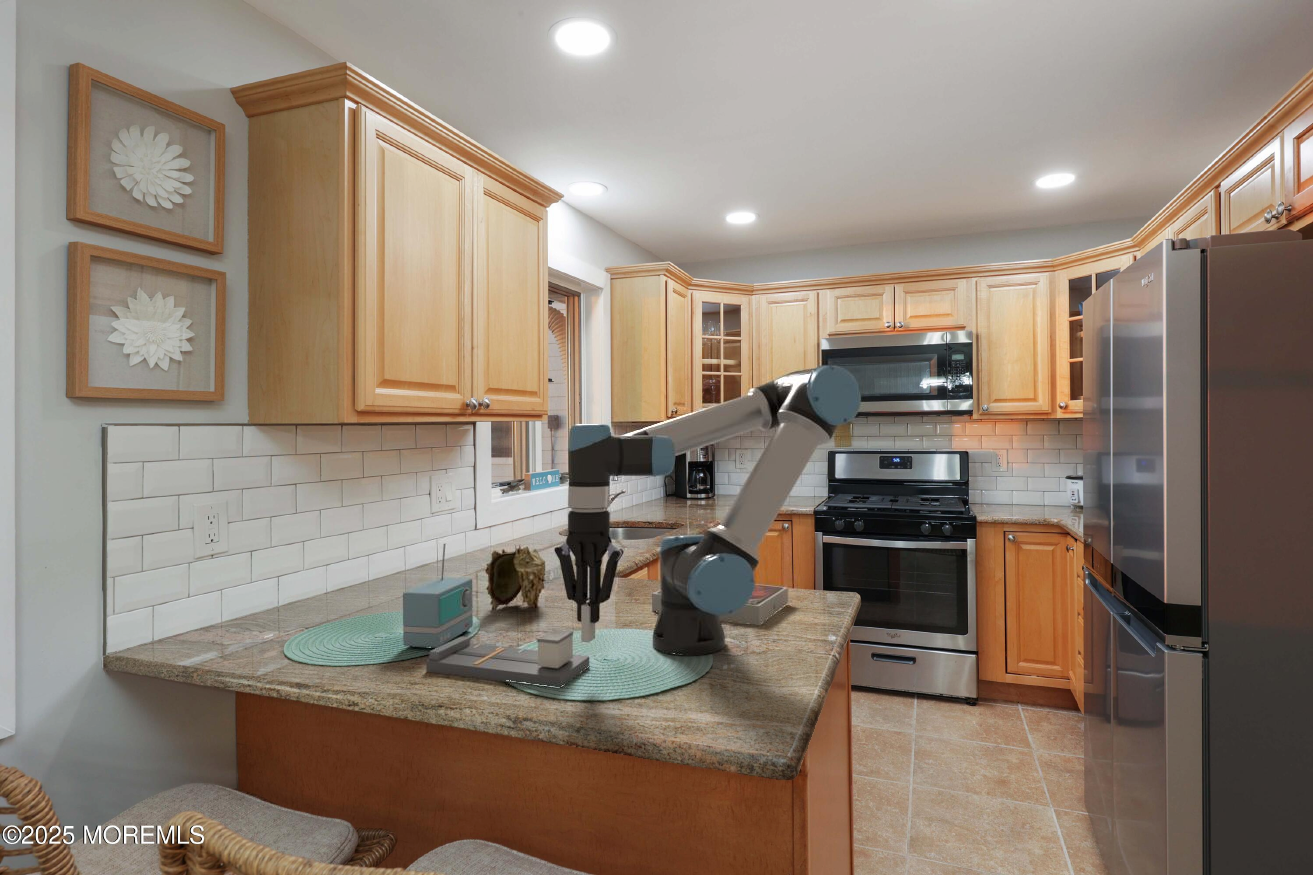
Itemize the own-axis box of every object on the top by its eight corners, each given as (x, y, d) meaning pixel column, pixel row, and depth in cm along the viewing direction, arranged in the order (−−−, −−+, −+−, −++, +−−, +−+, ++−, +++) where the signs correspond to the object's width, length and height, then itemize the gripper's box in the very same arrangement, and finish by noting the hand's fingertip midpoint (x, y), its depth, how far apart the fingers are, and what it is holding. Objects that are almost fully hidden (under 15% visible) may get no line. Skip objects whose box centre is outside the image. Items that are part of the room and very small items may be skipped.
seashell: (477, 540, 169) (530, 553, 164) (516, 534, 186) (565, 545, 180) (466, 612, 169) (519, 627, 164) (506, 599, 186) (554, 612, 181)
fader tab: (573, 657, 129) (573, 631, 129) (558, 668, 123) (557, 640, 123) (553, 655, 130) (553, 629, 130) (537, 665, 124) (537, 638, 124)
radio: (442, 652, 141) (441, 554, 141) (402, 650, 142) (401, 553, 142) (477, 630, 156) (476, 542, 156) (441, 628, 158) (440, 541, 158)
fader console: (589, 666, 131) (589, 648, 131) (560, 688, 120) (559, 668, 120) (464, 652, 140) (464, 635, 140) (426, 671, 129) (426, 652, 129)
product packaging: (759, 627, 158) (759, 606, 158) (652, 613, 172) (652, 593, 172) (788, 606, 178) (788, 587, 177) (689, 595, 191) (689, 577, 191)
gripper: (630, 508, 126) (629, 638, 126) (566, 506, 130) (565, 630, 130) (614, 513, 118) (613, 649, 118) (546, 509, 123) (546, 641, 123)
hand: (588, 639), depth 124 cm, fingers closed
